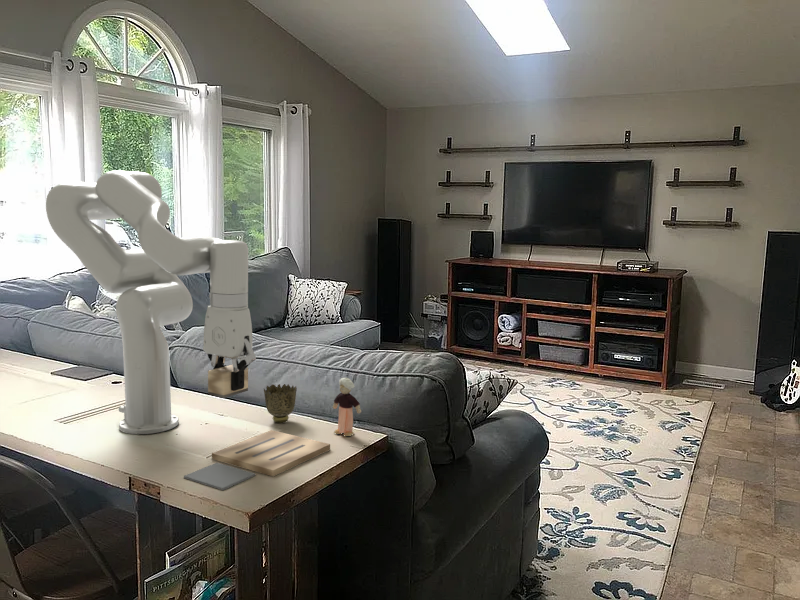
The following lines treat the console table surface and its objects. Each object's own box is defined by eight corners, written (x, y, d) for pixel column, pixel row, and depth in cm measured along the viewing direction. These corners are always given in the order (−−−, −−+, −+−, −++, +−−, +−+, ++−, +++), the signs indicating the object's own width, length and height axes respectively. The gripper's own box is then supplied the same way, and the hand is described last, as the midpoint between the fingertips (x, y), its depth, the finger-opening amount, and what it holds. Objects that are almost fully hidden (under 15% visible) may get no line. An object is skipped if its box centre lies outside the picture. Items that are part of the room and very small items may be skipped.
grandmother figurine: (326, 434, 152) (326, 377, 150) (334, 429, 155) (334, 374, 154) (357, 439, 149) (357, 381, 147) (365, 434, 152) (366, 377, 151)
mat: (183, 477, 127) (183, 475, 127) (216, 464, 134) (216, 462, 134) (222, 490, 122) (222, 488, 122) (255, 475, 129) (255, 473, 128)
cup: (290, 427, 156) (289, 392, 155) (259, 425, 158) (258, 390, 157) (301, 417, 164) (301, 384, 162) (271, 415, 165) (271, 382, 164)
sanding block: (208, 394, 144) (208, 370, 143) (232, 387, 150) (233, 364, 149) (223, 398, 141) (223, 374, 141) (247, 390, 147) (248, 367, 147)
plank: (211, 458, 137) (211, 453, 136) (271, 435, 151) (271, 429, 151) (273, 476, 128) (272, 470, 128) (330, 449, 142) (330, 444, 142)
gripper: (186, 298, 144) (186, 383, 147) (246, 307, 135) (245, 398, 138) (213, 294, 150) (213, 376, 153) (272, 303, 141) (271, 390, 144)
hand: (228, 386), depth 145 cm, fingers closed on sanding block, 4 cm apart
